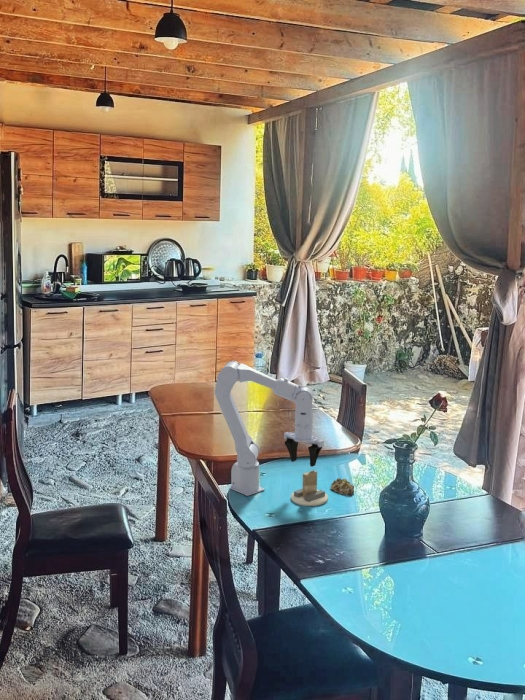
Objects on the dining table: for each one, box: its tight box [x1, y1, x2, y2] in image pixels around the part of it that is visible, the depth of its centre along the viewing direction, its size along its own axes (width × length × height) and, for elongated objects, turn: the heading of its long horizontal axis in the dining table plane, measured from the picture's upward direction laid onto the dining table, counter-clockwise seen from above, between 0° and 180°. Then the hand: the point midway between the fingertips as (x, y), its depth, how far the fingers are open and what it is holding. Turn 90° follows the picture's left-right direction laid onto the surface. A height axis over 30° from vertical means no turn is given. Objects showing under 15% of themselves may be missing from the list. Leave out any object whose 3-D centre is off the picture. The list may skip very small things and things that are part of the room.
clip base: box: [290, 488, 329, 507], centre depth 239 cm, size 12×12×2 cm
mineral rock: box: [330, 477, 355, 496], centre depth 247 cm, size 11×4×8 cm
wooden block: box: [302, 470, 318, 498], centre depth 238 cm, size 2×5×8 cm, turn 131°
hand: (303, 463), depth 242 cm, fingers open, 7 cm apart
